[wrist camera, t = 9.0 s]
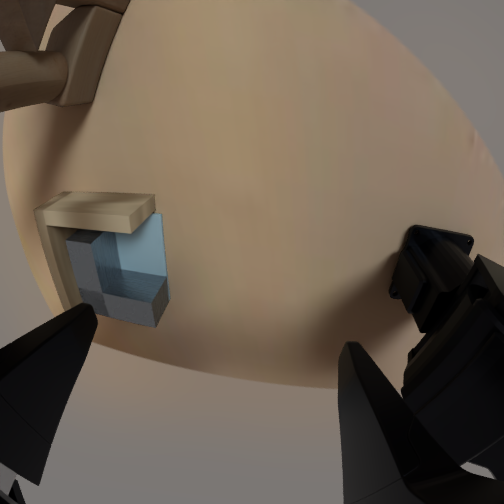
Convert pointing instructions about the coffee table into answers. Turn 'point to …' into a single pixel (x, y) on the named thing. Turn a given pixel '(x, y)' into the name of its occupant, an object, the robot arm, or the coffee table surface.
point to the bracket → (114, 280)
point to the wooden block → (54, 51)
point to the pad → (144, 248)
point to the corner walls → (84, 217)
